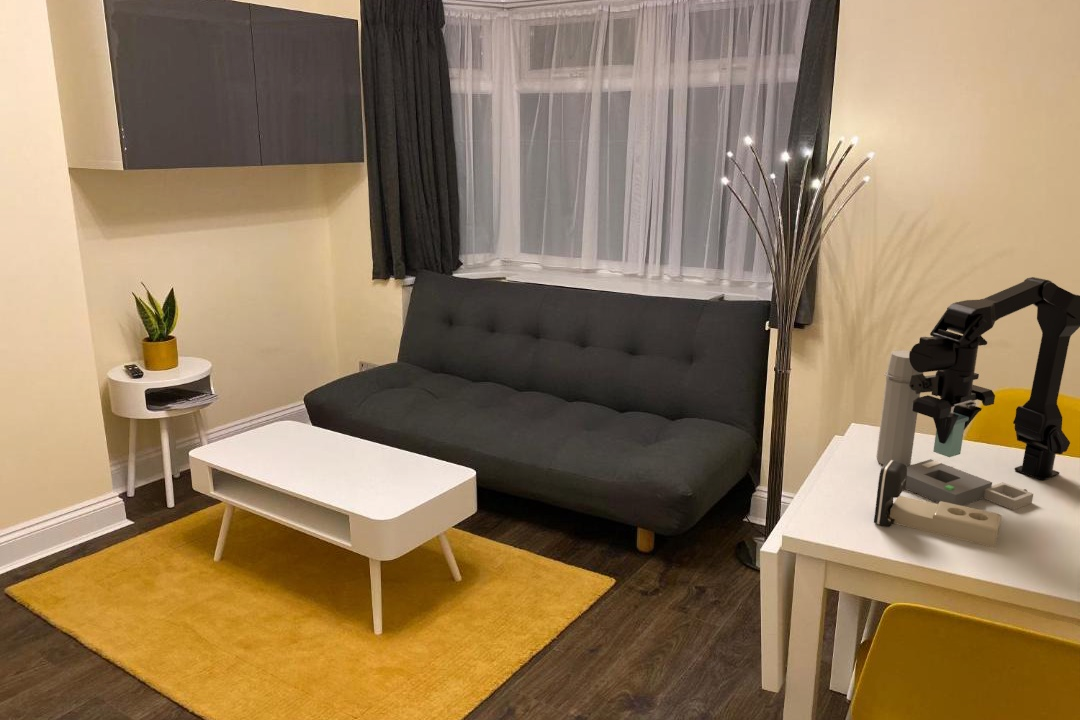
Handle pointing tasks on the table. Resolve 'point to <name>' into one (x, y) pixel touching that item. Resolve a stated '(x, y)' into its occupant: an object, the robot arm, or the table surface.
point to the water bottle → (897, 411)
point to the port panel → (945, 483)
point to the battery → (889, 490)
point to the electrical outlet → (948, 520)
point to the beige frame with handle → (1013, 503)
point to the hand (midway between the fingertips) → (948, 441)
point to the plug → (952, 439)
